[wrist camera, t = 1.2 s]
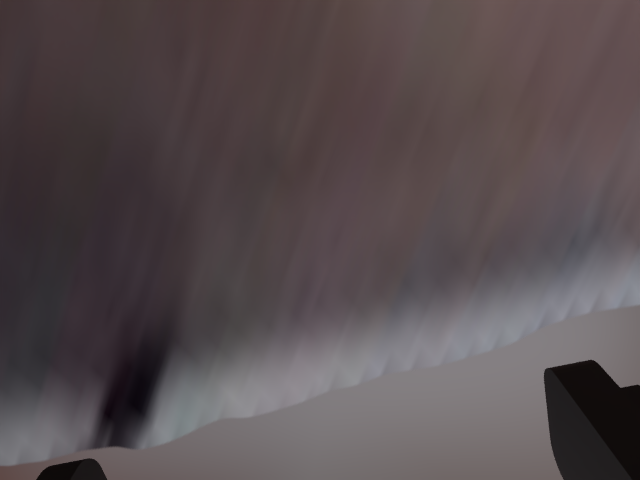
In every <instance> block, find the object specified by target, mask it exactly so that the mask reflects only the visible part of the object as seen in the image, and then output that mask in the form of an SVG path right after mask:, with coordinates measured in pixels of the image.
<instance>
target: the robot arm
mask: <svg viewBox="0 0 640 480" xmlns="http://www.w3.org/2000/svg"><path fill="white" fill-rule="evenodd" d="M544 384H545V392H546V403H547V411H548V422H549V431H550V440H551V446H552V450H553V453H554V457H555V460H556V463H557V466H558V468H559V471H560V473H561V475H562V477H563V479H564V480H640V386H639V385H634V386H629V387H623V388H620V387H619V386H618V385H617V384H616V383H615V382H614V381H613V379H612V378H611V377H610V376H609V375H608V374H607V373H606V372H605V371H604V369H603V368H602V367H601V366H600V365H599V364H598V363H597V362H595V361H593V360H588V361H583V362H577V363H573V364H567V365H562V366H557V367H552V368H547V369H545V372H544ZM36 480H107V478H106V476H105V474H104V472H103V470H102V468H101V466H100V465H99V463H98V462H97V461H96V460H94V459H84V460H79V461H73V462H68V463H63V464H58V465H53V466H49V467H47V468H46V469H45V470H43V471H42V472H41V474H40V475H39V476H38V478H37V479H36Z"/></svg>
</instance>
